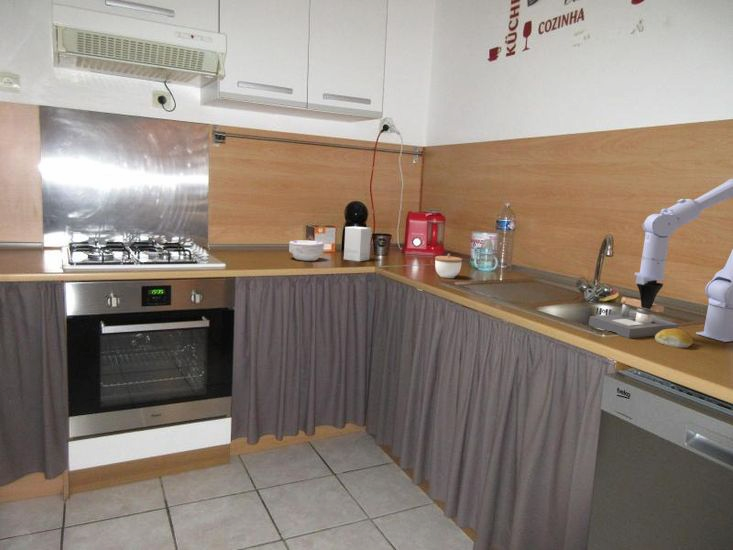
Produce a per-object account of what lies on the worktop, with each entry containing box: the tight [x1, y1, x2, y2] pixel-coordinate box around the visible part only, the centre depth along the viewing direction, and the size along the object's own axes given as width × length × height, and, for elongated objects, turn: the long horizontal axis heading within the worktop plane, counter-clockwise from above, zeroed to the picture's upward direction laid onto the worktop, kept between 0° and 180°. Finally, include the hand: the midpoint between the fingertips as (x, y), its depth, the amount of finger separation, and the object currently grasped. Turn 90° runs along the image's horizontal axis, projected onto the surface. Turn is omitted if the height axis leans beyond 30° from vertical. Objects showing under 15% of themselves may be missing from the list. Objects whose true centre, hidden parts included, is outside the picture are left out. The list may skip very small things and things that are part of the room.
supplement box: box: [343, 226, 372, 262], centre depth 248 cm, size 9×9×15 cm
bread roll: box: [654, 328, 694, 349], centre depth 139 cm, size 8×9×4 cm
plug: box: [635, 307, 654, 324], centre depth 150 cm, size 4×4×6 cm
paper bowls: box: [288, 239, 325, 262], centre depth 239 cm, size 15×15×8 cm
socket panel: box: [588, 303, 679, 339], centre depth 151 cm, size 20×13×6 cm, turn 117°
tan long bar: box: [620, 296, 665, 313], centre depth 151 cm, size 12×3×2 cm, turn 27°
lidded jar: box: [434, 253, 463, 279], centre depth 217 cm, size 11×11×9 cm
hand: (645, 308), depth 147 cm, fingers closed
